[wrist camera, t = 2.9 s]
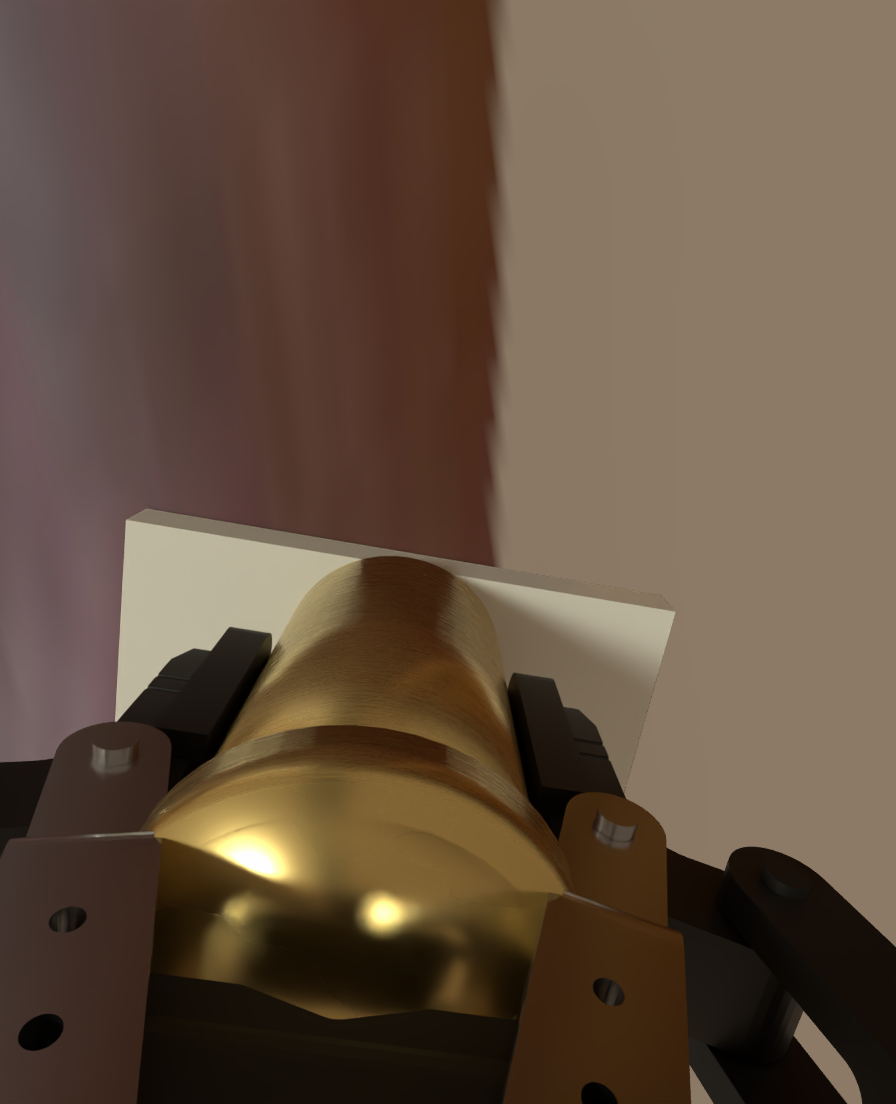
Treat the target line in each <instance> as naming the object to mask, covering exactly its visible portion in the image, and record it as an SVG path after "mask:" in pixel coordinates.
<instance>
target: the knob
mask: <svg viewBox="0 0 896 1104" xmlns="http://www.w3.org/2000/svg"><path fill="white" fill-rule="evenodd" d="M140 831H154V832H155V835H154V837H162V847H161V859H160V872H159V885H158V898H157V910H156V923H155V936H154V948H153V961H152V973H157V974H165V975H173V976H180V977H188V978H196V979H203V980H211V981H219V982H227V983H234V984H241V985H244V986H247V987H249V988H252V989H254V990H257V991H259V992H262V993H264V994H267V995H270V996H272V997H275V998H277V999H280V1000H282V1001H285V1002H288V1003H290V1004H293V1005H295V1006H298V1007H300V1008H303V1009H305V1010H308V1011H311V1012H313V1013H316V1014H318V1015H321V1016H323V1017H327V1018H330V1019H350V1018H359V1017H368V1016H376V1015H385V1014H394V1013H402V1012H411V1011H420V1010H429V1009H434V1010H442V1011H449V1012H457V1013H465V1014H472V1015H480V1016H488V1017H496V1018H503V1019H511V1020H516V1016H517V1012H518V1009H519V1005H520V1001H521V997H522V993H523V990H524V986H525V982H526V978H527V974H528V971H529V967H530V963H531V959H532V956H533V952H534V948H535V944H536V940H537V937H538V933H539V929H540V925H541V921H542V918H543V914H544V910H545V906H546V902H547V899H548V895H549V892H550V893H555V894H560V895H563V891H568V892H571V893H574V894H575V891H574V886H573V882H572V878H571V874H570V870H569V866H568V863H567V860H566V858H565V856H564V854H563V852H562V849H561V847H560V845H559V843H558V841H557V839H556V837H555V835H554V834H553V832H552V831H551V829H550V828H549V826H548V825H547V823H546V822H545V820H544V819H543V817H542V816H541V815H540V813H539V812H538V811H537V810H536V809H535V808H534V807H533V806H532V805H531V803H530V802H529V797H528V792H527V787H526V782H525V777H524V772H523V767H522V762H521V757H520V751H519V746H518V741H517V736H516V731H515V726H514V721H513V716H512V711H511V705H510V700H509V695H508V690H507V685H506V680H505V675H504V670H503V665H502V660H501V654H500V649H499V644H498V639H497V635H496V631H495V628H494V625H493V622H492V620H491V618H490V616H489V613H488V611H487V610H486V608H485V607H484V605H483V603H482V602H481V600H480V599H479V598H478V597H477V596H476V594H475V593H474V592H473V591H472V590H471V589H470V588H469V587H468V586H467V585H466V584H465V583H464V582H463V581H461V580H460V579H459V578H457V577H456V576H454V575H453V574H451V573H450V572H448V571H446V570H444V569H442V568H441V567H439V566H437V565H434V564H431V563H428V562H426V561H423V560H418V559H414V558H410V557H401V556H378V557H371V558H365V559H362V560H358V561H355V562H351V563H349V564H347V565H344V566H342V567H340V568H338V569H336V570H334V571H333V572H331V573H329V574H328V575H326V576H325V577H324V578H322V579H321V580H320V581H318V582H317V583H316V584H315V585H314V586H313V587H312V588H311V589H310V590H309V591H308V592H307V593H306V595H305V596H304V597H303V599H302V600H301V602H300V603H299V604H298V606H297V608H296V610H295V611H294V613H293V615H292V617H291V619H290V620H289V622H288V624H287V626H286V628H285V629H284V631H283V633H282V635H281V637H280V638H279V640H278V642H277V644H276V645H275V647H274V649H273V651H272V653H271V654H270V656H269V658H268V660H267V662H266V663H265V665H264V667H263V669H262V671H261V672H260V674H259V676H258V678H257V680H256V681H255V683H254V685H253V687H252V689H251V690H250V692H249V694H248V696H247V698H246V699H245V701H244V703H243V705H242V706H241V708H240V710H239V712H238V714H237V715H236V717H235V719H234V721H233V723H232V724H231V726H230V728H229V730H228V732H227V733H226V735H225V737H224V739H223V741H222V742H221V744H220V746H219V748H218V750H217V751H216V753H215V755H214V757H213V758H212V759H211V760H209V761H207V762H205V763H203V764H202V765H200V766H199V767H198V768H196V769H195V770H194V771H192V772H191V773H190V774H188V775H187V776H186V777H184V778H183V779H182V780H181V781H179V782H178V783H177V784H176V785H175V786H174V787H173V788H172V789H171V790H170V791H169V792H168V793H167V794H166V795H165V796H164V797H163V798H162V799H161V800H160V801H159V802H158V804H157V805H156V806H155V808H154V809H153V811H152V813H151V814H150V816H149V817H148V819H147V821H146V822H145V824H144V825H143V827H142V829H141V830H140Z"/></svg>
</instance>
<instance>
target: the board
mask: <svg viewBox="0 0 896 1104" xmlns="http://www.w3.org/2000/svg"><path fill="white" fill-rule="evenodd" d="M378 556H401V557H410V558H414V559H418V560H423V561H426V562H428V563H431V564H434V565H437V566H439V567H441V568H442V569H444V570H446V571H448V572H450V573H451V574H453V575H454V576H456V577H457V578H459V579H460V580H461V581H463V582H464V583H465V584H466V585H467V586H468V587H469V588H470V589H471V590H472V591H473V592H474V593H475V594H476V596H477V597H478V598H479V599H480V600H481V602H482V603H483V605H484V607H485V608H486V610H487V611H488V613H489V616H490V618H491V620H492V622H493V625H494V628H495V631H496V635H497V639H498V644H499V649H500V654H501V660H502V665H503V670H504V675H505V680H506V685H507V690H508V685H509V682H510V679H511V676H512V674H513V673H521V674H527V675H533V676H540V677H546V678H552V679H554V681H555V684H556V687H557V690H558V692H559V695H560V698H561V701H562V704H563V707H568V708H574V709H579V710H580V711H581V712H582V713H583V714H584V715H585V716H586V717H587V718H588V719H589V720H590V721H592V722H593V723H594V724H595V725H596V727H597V729H598V732H599V734H600V737H601V739H602V742H603V746H605V749H606V751H607V754H608V756H609V761H611V763H612V766H613V768H614V771H615V773H616V776H617V778H618V780H619V783H620V785H621V788H622V790H623V793H624V791H625V788H626V784H627V780H628V777H629V774H630V770H631V767H632V763H633V760H634V756H635V753H636V749H637V746H638V742H639V739H640V735H641V732H642V728H643V725H644V721H645V718H646V714H647V711H648V707H649V704H650V700H651V697H652V693H653V690H654V686H655V683H656V679H657V676H658V672H659V669H660V665H661V662H662V658H663V655H664V651H665V648H666V644H667V641H668V637H669V634H670V630H671V627H672V623H673V620H674V616H675V613H676V612H675V610H674V609H673V608H672V607H671V606H670V605H669V604H668V602H667V601H666V600H665V599H664V598H663V597H662V596H661V595H657V594H651V593H645V592H639V591H633V590H627V589H621V588H616V587H609V586H604V585H597V584H591V583H586V582H580V581H574V580H568V579H562V578H556V577H549V576H544V575H538V574H532V573H526V572H521V571H515V570H509V569H503V568H497V567H491V566H485V565H479V564H473V563H467V562H461V561H455V560H449V559H443V558H437V557H431V556H425V555H420V554H414V553H408V552H402V551H396V550H390V549H384V548H378V547H372V546H366V545H360V544H354V543H348V542H342V541H336V540H330V539H325V538H319V537H313V536H307V535H301V534H295V533H289V532H283V531H277V530H271V529H265V528H259V527H253V526H247V525H241V524H235V523H229V522H224V521H218V520H212V519H206V518H200V517H194V516H188V515H182V514H176V513H170V512H164V511H158V510H152V509H145V510H143V511H141V512H140V513H138V514H136V515H134V516H132V517H130V518H129V519H127V520H126V530H125V549H124V567H123V586H122V605H121V623H120V642H119V660H118V679H117V697H116V716H115V722H117V721H118V719H119V718H120V717H121V716H122V715H123V714H124V713H125V711H126V710H127V709H128V708H129V707H130V706H131V704H132V703H133V702H134V701H135V700H136V699H137V698H138V696H139V695H140V694H141V693H142V692H143V691H144V690H145V689H147V688H148V685H149V684H150V683H151V681H152V680H153V679H154V678H155V677H156V676H157V677H158V673H159V672H160V671H161V670H162V669H163V668H164V666H165V665H166V664H167V663H168V662H169V661H170V660H171V659H172V658H174V657H176V656H178V655H180V654H183V653H185V652H187V651H189V650H191V649H193V648H196V649H202V650H209V651H211V650H212V649H213V647H214V646H215V645H216V644H217V642H218V641H219V640H220V638H221V637H222V636H223V634H224V633H225V632H226V630H227V629H228V628H229V627H235V628H242V629H248V630H254V631H261V632H267V633H271V634H272V650H271V653H272V651H273V649H274V647H275V645H276V644H277V642H278V640H279V638H280V637H281V635H282V633H283V631H284V629H285V628H286V626H287V624H288V622H289V620H290V619H291V617H292V615H293V613H294V611H295V610H296V608H297V606H298V604H299V603H300V602H301V600H302V599H303V597H304V596H305V595H306V593H307V592H308V591H309V590H310V589H311V588H312V587H313V586H314V585H315V584H316V583H317V582H318V581H320V580H321V579H322V578H324V577H325V576H326V575H328V574H329V573H331V572H333V571H334V570H336V569H338V568H340V567H342V566H344V565H347V564H349V563H351V562H355V561H358V560H362V559H365V558H371V557H378Z"/></svg>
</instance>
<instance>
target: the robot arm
mask: <svg viewBox="0 0 896 1104" xmlns="http://www.w3.org/2000/svg"><path fill="white" fill-rule="evenodd" d="M271 650H272V634H271V633H267V632H261V631H254V630H248V629H242V628H235V627H229V628H228V629H227V630H226V632H225V633H224V634H223V636H222V637H221V638H220V640H219V641H218V642H217V644H216V645H215V646H214V647H213V649H212V650H211V651H209V650H202V649H196V648H193V649H191V650H189V651H187V652H185V653H183V654H180V655H178V656H176V657H174V658H172V659H171V660H170V661H169V662H168V663H167V664H166V665H165V666H164V668H163V669H162V670H161V671H160V672H159V673H158V677H157V676H156V677H155V678H154V679H153V680H152V681H151V683H150V684H149V685H148V688H147V689H145V690H144V691H143V692H142V693H141V694H140V695H139V696H138V698H137V699H136V700H135V701H134V702H133V703H132V704H131V706H130V707H129V708H128V709H127V710H126V711H125V713H124V714H123V715H122V716H121V717H120V718H119V719H118V721H117V722H108V723H101V724H97V725H92V726H89V727H86V728H83V729H81V730H79V731H76V732H75V733H73V734H71V735H69V736H68V737H67V738H66V739H64V740H63V741H62V743H61V744H60V745H59V747H58V748H57V750H56V753H55V756H54V759H47V760H39V761H23V762H1V763H0V1104H691V1089H690V1067H689V1064H690V1066H691V1067H692V1069H693V1071H694V1072H695V1074H696V1075H697V1077H698V1079H699V1080H700V1082H701V1084H702V1085H703V1087H704V1089H705V1090H706V1092H707V1093H708V1095H709V1097H710V1098H711V1100H712V1101H713V1103H714V1104H847V1103H846V1102H845V1100H844V1099H843V1098H842V1097H841V1095H840V1094H839V1093H838V1091H837V1090H836V1089H835V1088H834V1086H833V1085H832V1084H831V1083H830V1081H829V1080H828V1079H827V1078H826V1076H825V1075H824V1074H823V1072H822V1071H821V1070H820V1069H819V1067H818V1066H817V1065H816V1064H815V1062H814V1061H813V1060H812V1059H811V1057H810V1056H809V1055H808V1053H807V1052H806V1051H805V1050H804V1048H803V1047H802V1046H801V1044H800V1043H799V1042H798V1041H797V1039H796V1038H795V1037H794V1036H793V1035H794V1033H795V1030H796V1027H797V1025H798V1023H799V1020H800V1018H801V1015H802V1013H803V1011H804V1012H805V1013H806V1014H807V1015H808V1016H809V1018H810V1019H811V1020H812V1021H813V1022H814V1024H815V1025H816V1026H817V1027H818V1029H819V1030H820V1031H821V1032H822V1033H823V1035H824V1036H825V1037H826V1038H827V1039H828V1041H829V1042H830V1043H831V1044H832V1045H833V1047H834V1048H835V1049H836V1050H837V1051H838V1053H839V1054H840V1055H841V1056H842V1058H843V1059H844V1060H845V1061H846V1063H847V1064H848V1066H849V1067H850V1069H851V1071H852V1072H853V1074H854V1076H855V1078H856V1081H857V1083H858V1086H859V1089H860V1092H861V1098H862V1104H896V947H895V946H894V945H893V944H892V943H891V942H890V941H889V940H888V939H887V938H886V937H885V936H883V935H882V934H881V933H880V932H879V931H878V930H877V929H876V928H875V927H874V926H873V925H872V924H871V923H870V922H868V920H866V918H864V917H863V916H862V915H861V914H860V913H859V912H858V911H857V910H856V909H855V908H854V907H853V906H852V905H851V904H850V903H849V902H848V901H847V900H845V899H844V898H843V897H842V896H841V895H840V894H839V893H838V892H837V891H836V890H835V889H834V888H833V887H832V886H831V885H829V883H828V882H826V881H825V880H824V879H823V878H822V877H821V876H820V875H819V874H817V873H816V872H815V871H813V870H812V869H811V868H809V867H808V866H806V865H804V864H803V863H801V862H799V861H798V860H796V859H794V858H792V857H790V856H787V855H784V854H783V853H780V852H776V851H774V850H770V849H766V848H761V847H743V848H740V849H737V850H735V851H734V852H733V853H732V854H731V855H730V857H729V860H728V863H727V866H726V869H725V871H723V870H720V869H718V868H715V867H712V866H709V865H707V864H704V863H701V862H698V861H695V860H693V859H690V858H687V857H685V856H683V855H680V854H678V853H676V852H674V851H672V850H670V849H668V848H666V835H665V832H664V830H663V828H662V826H661V825H660V823H659V822H658V821H657V820H656V819H655V818H654V817H653V816H652V815H651V814H650V813H649V812H648V811H646V810H645V809H643V808H642V807H640V806H639V805H637V804H635V803H633V802H631V801H629V800H627V799H626V798H625V795H624V793H623V790H622V788H621V785H620V783H619V780H618V778H617V776H616V773H615V771H614V768H613V766H612V763H611V761H609V756H608V754H607V751H606V749H605V746H603V742H602V739H601V737H600V734H599V732H598V729H597V727H596V725H595V724H594V723H593V722H592V721H590V720H589V719H588V718H587V717H586V716H585V715H584V714H583V713H582V712H581V711H580V710H579V709H574V708H568V707H563V704H562V701H561V698H560V695H559V692H558V690H557V687H556V684H555V681H554V679H552V678H546V677H540V676H533V675H527V674H521V673H513V674H512V676H511V679H510V682H509V685H508V695H509V700H510V705H511V711H512V716H513V721H514V726H515V731H516V736H517V741H518V746H519V751H520V757H521V762H522V767H523V772H524V777H525V782H526V787H527V792H528V797H529V802H530V803H531V805H532V806H533V807H534V808H535V809H536V810H537V811H538V812H539V813H540V815H541V816H542V817H543V819H544V820H545V822H546V823H547V825H548V826H549V828H550V829H551V831H552V832H553V834H554V835H555V837H556V839H557V841H558V843H559V845H560V847H561V849H562V852H563V854H564V856H565V858H566V860H567V863H568V866H569V870H570V874H571V878H572V882H573V886H574V891H575V894H574V893H571V892H568V891H563V895H560V894H555V893H550V892H549V895H548V899H547V902H546V906H545V910H544V914H543V918H542V921H541V925H540V929H539V933H538V937H537V940H536V944H535V948H534V952H533V956H532V959H531V963H530V967H529V971H528V974H527V978H526V982H525V986H524V990H523V993H522V997H521V1001H520V1005H519V1009H518V1012H517V1016H516V1020H511V1019H503V1018H496V1017H488V1016H480V1015H472V1014H465V1013H457V1012H449V1011H442V1010H434V1009H429V1010H420V1011H411V1012H402V1013H394V1014H385V1015H376V1016H368V1017H359V1018H350V1019H330V1018H327V1017H323V1016H321V1015H318V1014H316V1013H313V1012H311V1011H308V1010H305V1009H303V1008H300V1007H298V1006H295V1005H293V1004H290V1003H288V1002H285V1001H282V1000H280V999H277V998H275V997H272V996H270V995H267V994H264V993H262V992H259V991H257V990H254V989H252V988H249V987H247V986H244V985H241V984H234V983H227V982H219V981H211V980H203V979H196V978H188V977H180V976H173V975H165V974H157V973H152V961H153V948H154V936H155V923H156V910H157V898H158V885H159V872H160V859H161V847H162V837H154V835H155V832H154V831H140V830H141V829H142V827H143V825H144V824H145V822H146V821H147V819H148V817H149V816H150V814H151V813H152V811H153V809H154V808H155V806H156V805H157V804H158V802H159V801H160V800H161V799H162V798H163V797H164V796H165V795H166V794H167V793H168V792H169V791H170V790H171V789H172V788H173V787H174V786H175V785H176V784H177V783H178V782H179V781H181V780H182V779H183V778H184V777H186V776H187V775H188V774H190V773H191V772H192V771H194V770H195V769H196V768H198V767H199V766H200V765H202V764H203V763H205V762H207V761H209V760H211V759H212V758H213V757H214V755H215V753H216V751H217V750H218V748H219V746H220V744H221V742H222V741H223V739H224V737H225V735H226V733H227V732H228V730H229V728H230V726H231V724H232V723H233V721H234V719H235V717H236V715H237V714H238V712H239V710H240V708H241V706H242V705H243V703H244V701H245V699H246V698H247V696H248V694H249V692H250V690H251V689H252V687H253V685H254V683H255V681H256V680H257V678H258V676H259V674H260V672H261V671H262V669H263V667H264V665H265V663H266V662H267V660H268V658H269V656H270V654H271Z"/></svg>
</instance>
